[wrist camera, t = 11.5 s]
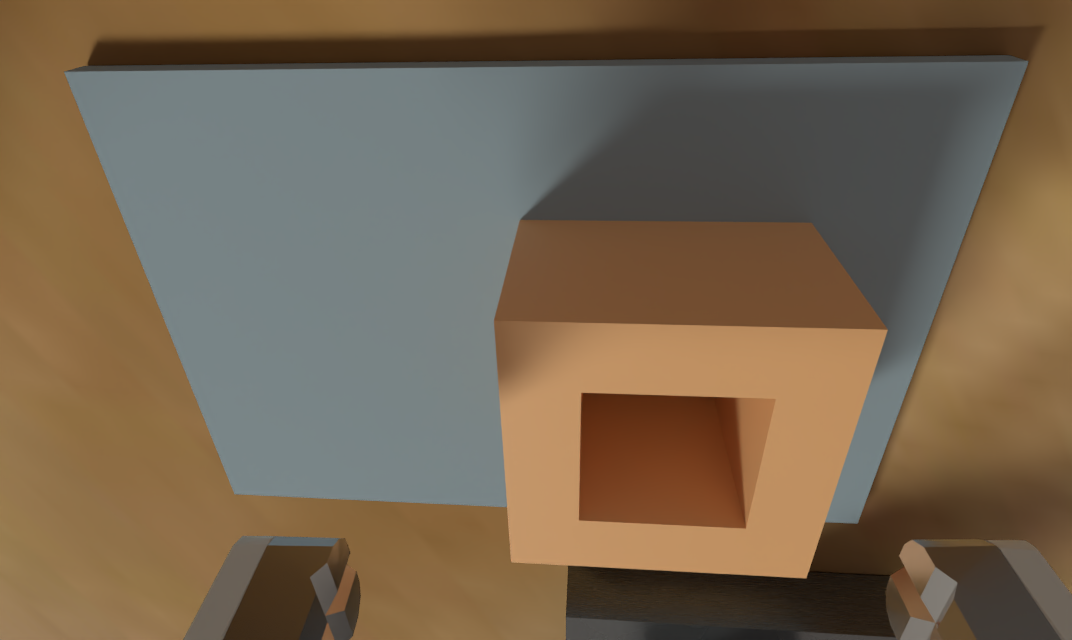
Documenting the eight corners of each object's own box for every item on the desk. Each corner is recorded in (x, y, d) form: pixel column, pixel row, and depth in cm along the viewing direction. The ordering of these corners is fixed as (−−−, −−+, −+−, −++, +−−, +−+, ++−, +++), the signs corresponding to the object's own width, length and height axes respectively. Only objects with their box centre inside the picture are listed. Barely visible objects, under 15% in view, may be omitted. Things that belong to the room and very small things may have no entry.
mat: (244, 479, 19) (234, 493, 19) (85, 65, 13) (64, 71, 12) (850, 506, 18) (857, 523, 17) (1009, 55, 11) (1028, 61, 11)
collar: (528, 431, 17) (511, 562, 13) (519, 220, 13) (493, 320, 10) (762, 440, 16) (806, 578, 13) (811, 222, 13) (887, 329, 9)
